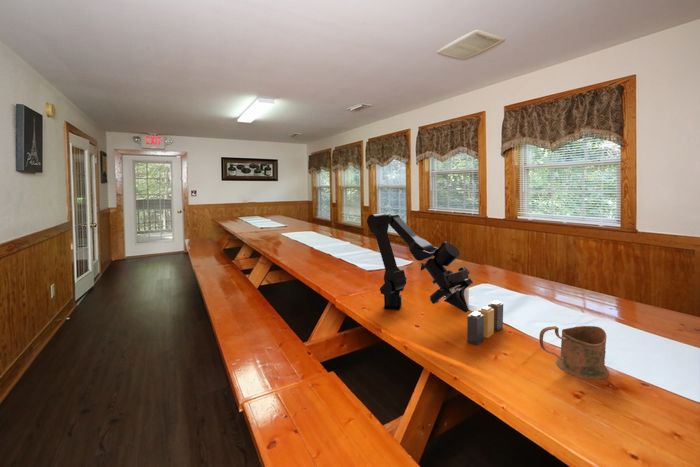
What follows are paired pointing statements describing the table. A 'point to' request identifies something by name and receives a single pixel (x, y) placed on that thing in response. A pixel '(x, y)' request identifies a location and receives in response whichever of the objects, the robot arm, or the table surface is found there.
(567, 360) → the mug
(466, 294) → the can
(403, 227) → the robot arm
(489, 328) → the tan faceted column
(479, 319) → the grey columns
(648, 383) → the table surface
